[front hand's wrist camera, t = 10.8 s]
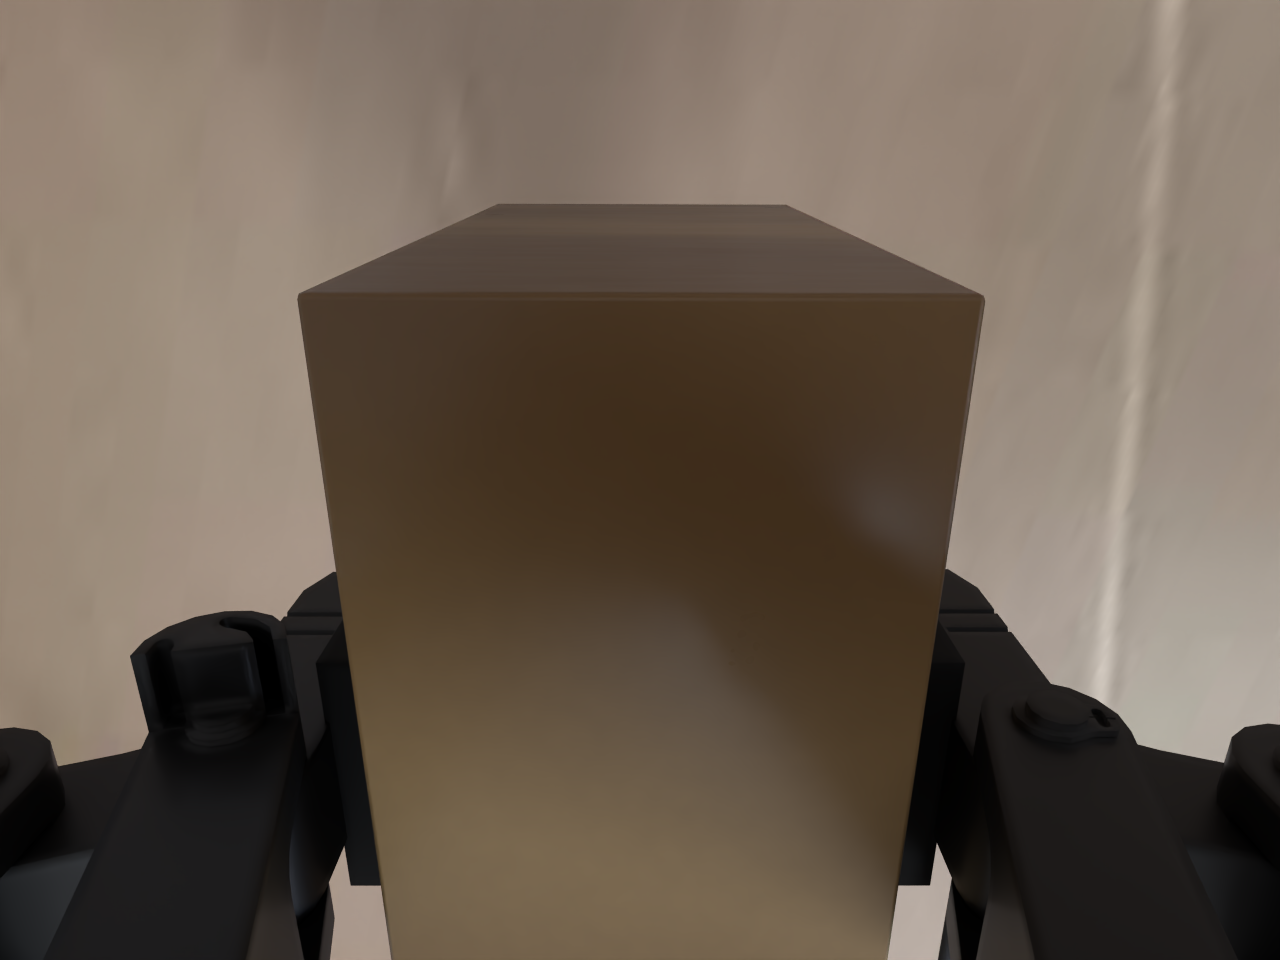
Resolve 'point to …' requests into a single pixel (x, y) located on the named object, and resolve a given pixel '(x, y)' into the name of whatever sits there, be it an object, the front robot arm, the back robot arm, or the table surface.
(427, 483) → the beam
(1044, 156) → the table surface
